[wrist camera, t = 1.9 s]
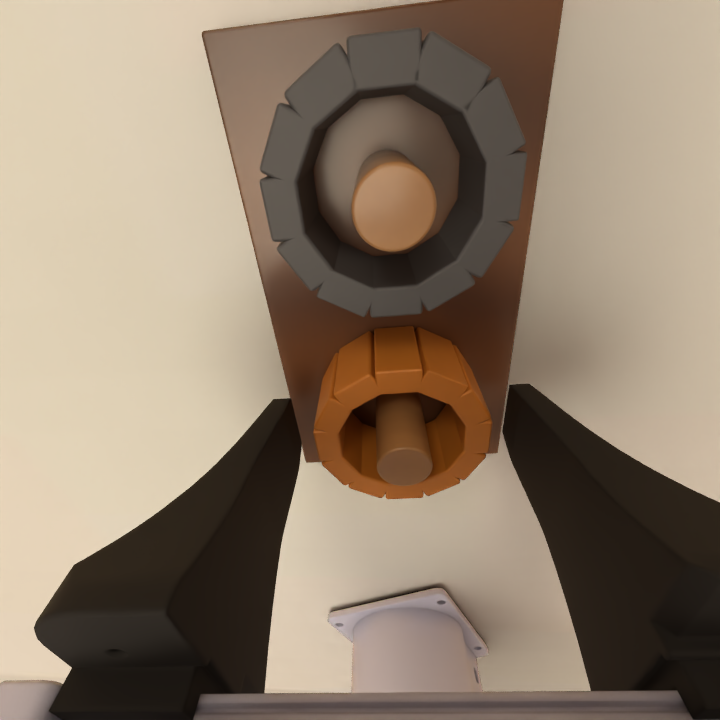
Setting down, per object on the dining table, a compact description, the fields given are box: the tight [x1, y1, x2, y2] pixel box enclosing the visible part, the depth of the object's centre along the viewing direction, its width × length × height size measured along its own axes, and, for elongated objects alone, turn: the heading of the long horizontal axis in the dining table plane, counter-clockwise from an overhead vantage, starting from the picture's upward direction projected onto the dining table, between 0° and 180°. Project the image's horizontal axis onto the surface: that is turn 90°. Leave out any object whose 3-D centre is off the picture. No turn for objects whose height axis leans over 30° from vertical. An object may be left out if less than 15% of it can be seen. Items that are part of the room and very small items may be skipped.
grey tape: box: [259, 27, 527, 318], centre depth 9 cm, size 5×5×3 cm
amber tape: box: [313, 326, 492, 499], centre depth 13 cm, size 5×5×3 cm
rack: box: [202, 0, 564, 486], centre depth 11 cm, size 14×8×4 cm, turn 5°
